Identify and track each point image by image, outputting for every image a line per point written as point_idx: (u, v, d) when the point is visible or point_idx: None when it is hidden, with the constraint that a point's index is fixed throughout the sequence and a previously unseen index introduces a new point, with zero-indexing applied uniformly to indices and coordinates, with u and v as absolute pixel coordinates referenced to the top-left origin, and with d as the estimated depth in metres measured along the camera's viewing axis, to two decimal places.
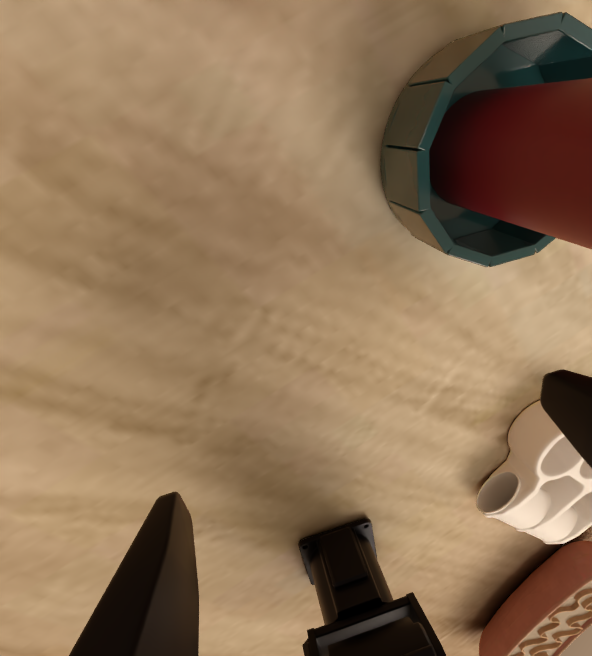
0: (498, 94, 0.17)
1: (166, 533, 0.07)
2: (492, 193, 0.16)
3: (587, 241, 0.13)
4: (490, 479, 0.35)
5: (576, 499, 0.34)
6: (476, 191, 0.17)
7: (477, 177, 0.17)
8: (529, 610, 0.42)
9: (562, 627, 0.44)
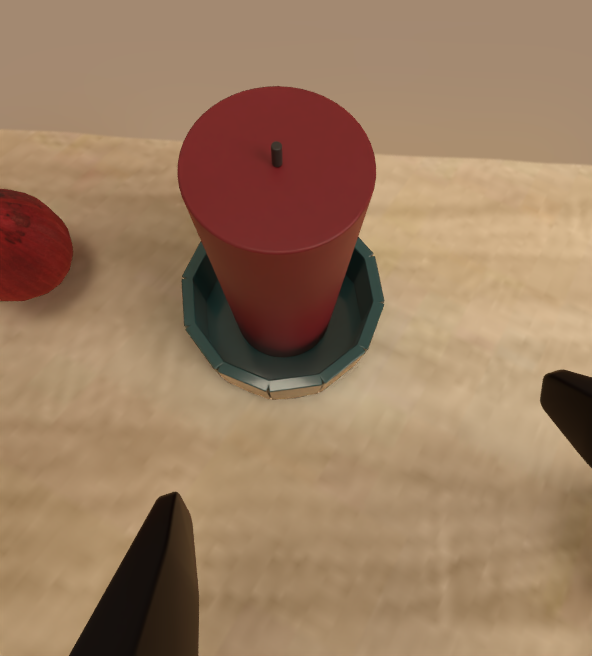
0: None
1: (166, 533, 0.07)
2: (244, 320, 0.18)
3: (263, 298, 0.14)
4: None
5: None
6: (248, 329, 0.19)
7: (238, 319, 0.19)
8: None
9: None
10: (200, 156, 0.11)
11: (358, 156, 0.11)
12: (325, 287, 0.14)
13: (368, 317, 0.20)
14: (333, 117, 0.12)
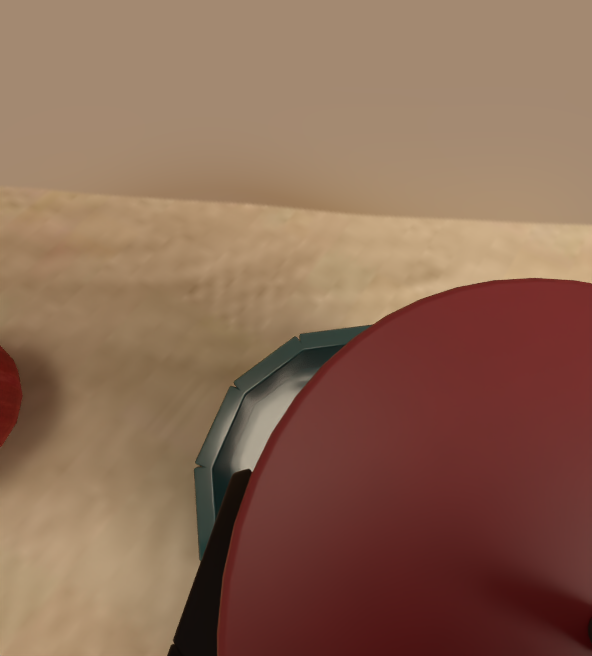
0: None
1: None
2: None
3: None
4: None
5: None
6: None
7: None
8: None
9: None
10: (305, 603, 0.03)
11: None
12: None
13: None
14: None
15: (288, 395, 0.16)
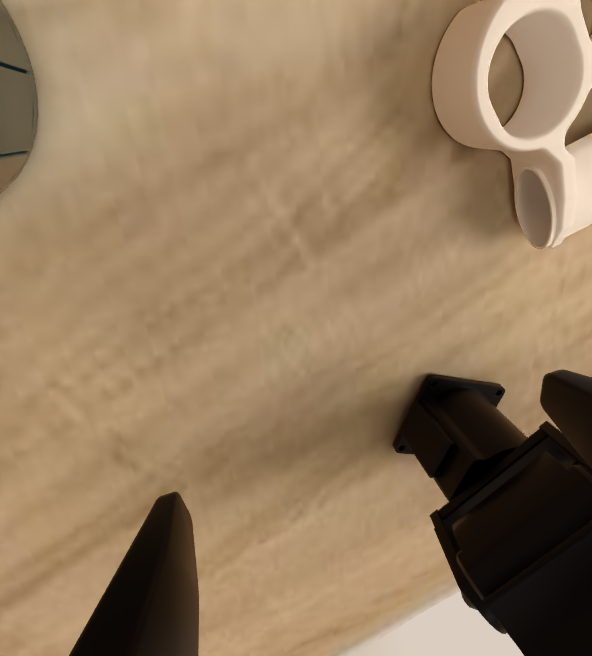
0: None
1: (166, 533, 0.07)
2: None
3: None
4: (517, 201, 0.21)
5: None
6: None
7: None
8: None
9: None
10: None
11: None
12: None
13: None
14: None
15: None
